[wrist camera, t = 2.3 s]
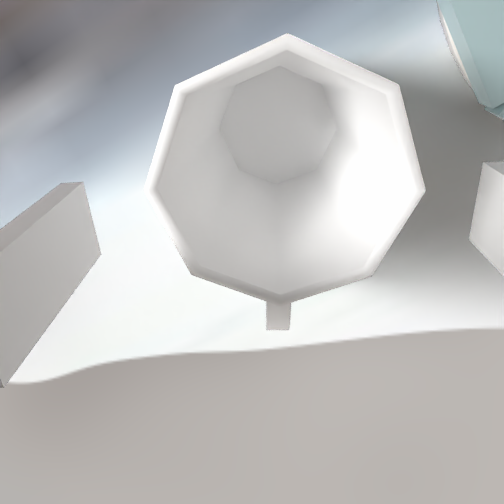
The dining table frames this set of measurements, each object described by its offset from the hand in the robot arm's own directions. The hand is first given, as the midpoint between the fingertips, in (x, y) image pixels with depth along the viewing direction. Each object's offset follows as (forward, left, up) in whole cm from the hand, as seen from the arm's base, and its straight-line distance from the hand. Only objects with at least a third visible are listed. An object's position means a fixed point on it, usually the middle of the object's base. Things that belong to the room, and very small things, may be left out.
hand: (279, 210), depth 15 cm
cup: (0, 0, -5) cm, 5 cm away
